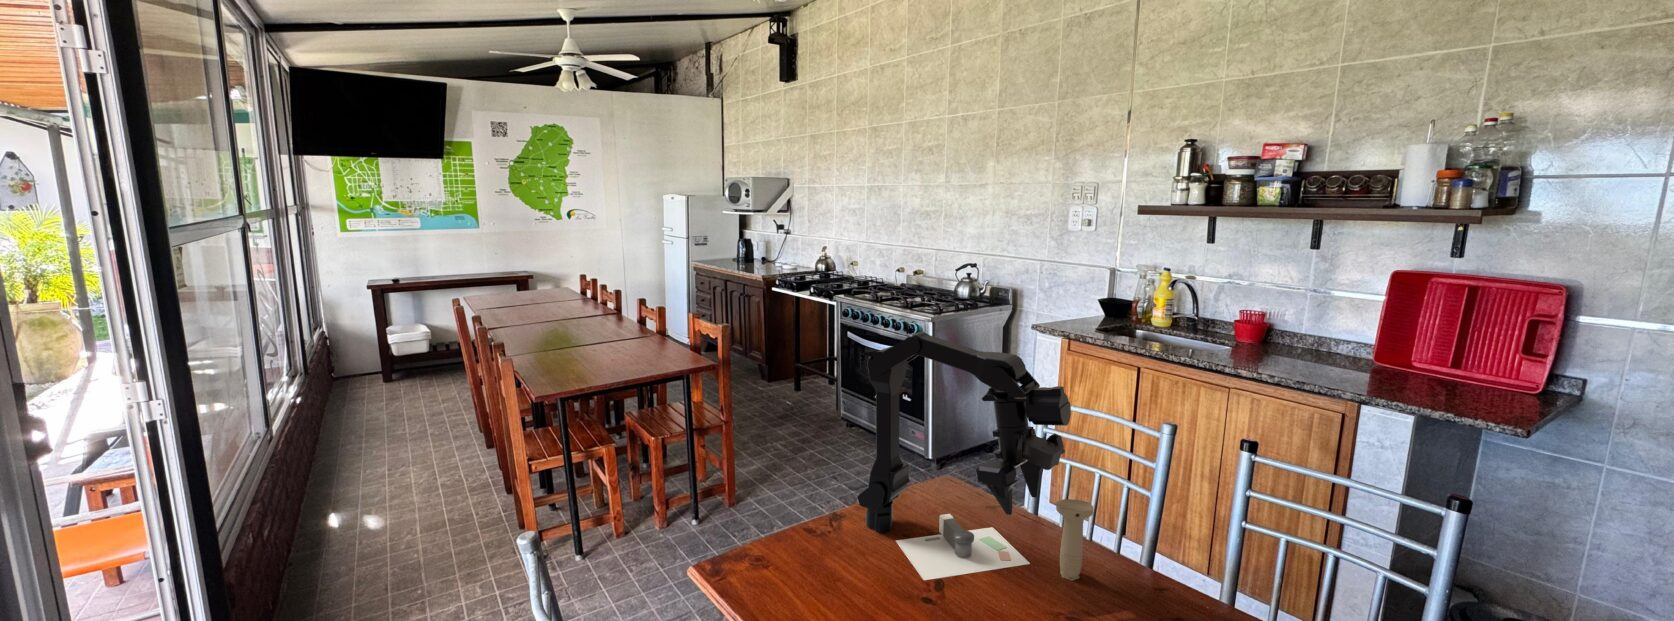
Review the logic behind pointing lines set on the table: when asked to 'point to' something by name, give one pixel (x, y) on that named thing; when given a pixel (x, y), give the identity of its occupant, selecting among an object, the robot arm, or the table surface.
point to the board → (941, 561)
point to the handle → (1072, 535)
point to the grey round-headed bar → (956, 535)
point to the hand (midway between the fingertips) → (1022, 505)
